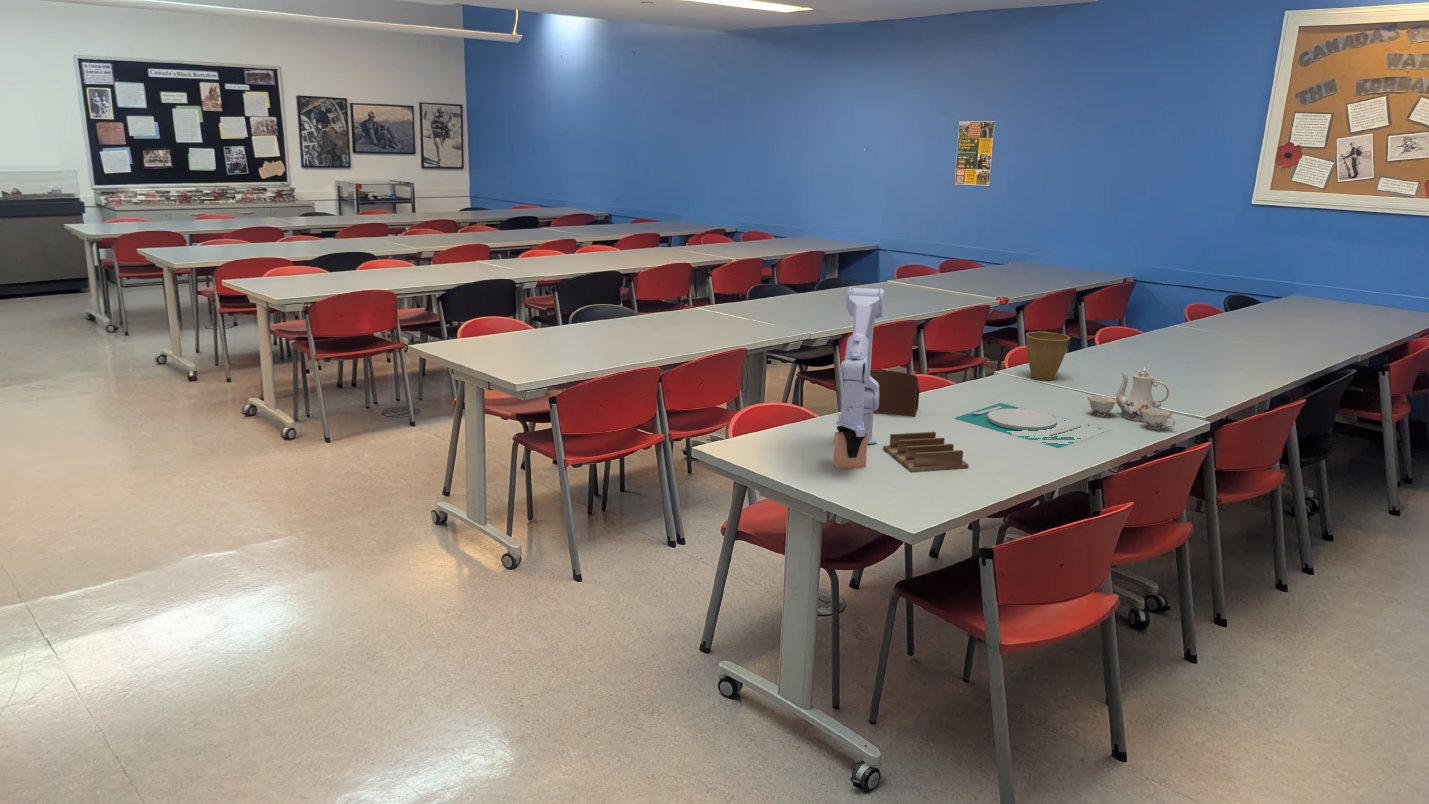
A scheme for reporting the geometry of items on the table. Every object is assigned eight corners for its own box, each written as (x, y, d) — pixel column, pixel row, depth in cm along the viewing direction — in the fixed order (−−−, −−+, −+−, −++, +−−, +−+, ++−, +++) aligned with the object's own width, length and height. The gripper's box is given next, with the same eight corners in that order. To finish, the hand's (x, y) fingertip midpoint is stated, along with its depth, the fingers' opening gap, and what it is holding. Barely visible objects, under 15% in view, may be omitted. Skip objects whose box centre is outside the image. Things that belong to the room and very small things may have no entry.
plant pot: (1021, 381, 330) (1026, 337, 326) (1022, 372, 344) (1026, 330, 340) (1065, 384, 326) (1070, 340, 322) (1064, 375, 340) (1069, 333, 335)
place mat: (930, 416, 289) (931, 409, 288) (989, 401, 307) (990, 394, 306) (1059, 452, 255) (1060, 445, 254) (1116, 433, 273) (1117, 426, 272)
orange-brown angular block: (833, 464, 241) (834, 432, 238) (861, 463, 242) (863, 430, 240) (836, 468, 238) (838, 435, 236) (865, 466, 240) (867, 433, 237)
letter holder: (915, 417, 285) (918, 373, 281) (851, 411, 291) (854, 368, 287) (918, 409, 294) (921, 366, 290) (856, 403, 300) (859, 361, 296)
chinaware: (1077, 419, 290) (1080, 369, 284) (1102, 405, 300) (1105, 356, 295) (1167, 439, 270) (1172, 386, 264) (1191, 423, 280) (1196, 371, 274)
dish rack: (883, 449, 254) (884, 433, 253) (937, 445, 257) (938, 430, 256) (911, 471, 236) (912, 455, 235) (968, 468, 239) (969, 451, 238)
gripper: (828, 398, 242) (826, 447, 245) (847, 413, 228) (844, 465, 232) (854, 397, 243) (851, 445, 247) (873, 412, 230) (871, 463, 233)
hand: (849, 455), depth 239 cm, fingers closed on orange-brown angular block, 3 cm apart
